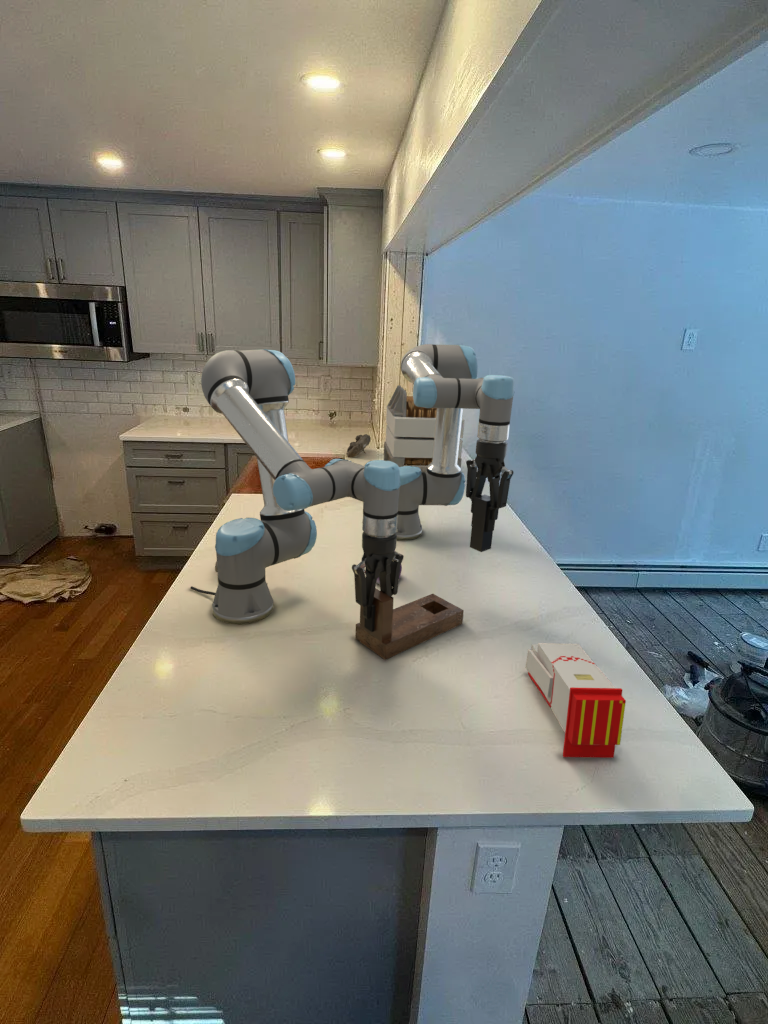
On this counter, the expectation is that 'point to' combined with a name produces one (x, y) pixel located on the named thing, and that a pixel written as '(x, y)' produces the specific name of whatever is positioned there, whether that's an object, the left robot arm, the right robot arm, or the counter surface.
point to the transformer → (411, 432)
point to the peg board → (406, 623)
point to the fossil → (358, 445)
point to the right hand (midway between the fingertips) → (482, 528)
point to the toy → (578, 698)
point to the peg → (480, 525)
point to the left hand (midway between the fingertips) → (375, 626)
